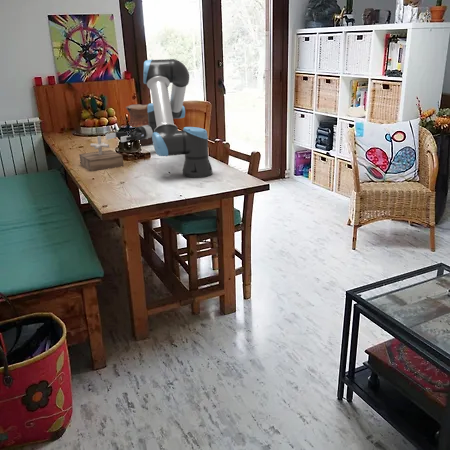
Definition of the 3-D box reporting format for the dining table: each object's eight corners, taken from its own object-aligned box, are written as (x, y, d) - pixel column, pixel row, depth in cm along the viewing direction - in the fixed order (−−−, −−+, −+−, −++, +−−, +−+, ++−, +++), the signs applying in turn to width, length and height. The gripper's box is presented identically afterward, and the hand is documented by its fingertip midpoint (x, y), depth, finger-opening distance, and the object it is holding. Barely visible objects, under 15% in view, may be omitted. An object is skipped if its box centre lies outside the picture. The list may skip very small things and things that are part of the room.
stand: (123, 166, 254) (122, 155, 252) (91, 171, 245) (89, 160, 243) (111, 160, 268) (110, 149, 266) (80, 164, 259) (79, 154, 257)
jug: (135, 148, 297) (131, 108, 288) (120, 143, 312) (116, 105, 303) (165, 143, 310) (162, 105, 301) (148, 139, 325) (145, 102, 316)
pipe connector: (105, 157, 249) (103, 138, 245) (88, 156, 250) (86, 137, 247) (112, 153, 258) (111, 135, 254) (96, 152, 260) (94, 134, 256)
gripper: (157, 141, 267) (128, 147, 252) (130, 136, 282) (100, 142, 267) (156, 128, 264) (126, 133, 249) (128, 124, 279) (99, 129, 264)
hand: (113, 138), depth 258 cm, fingers open, 13 cm apart
